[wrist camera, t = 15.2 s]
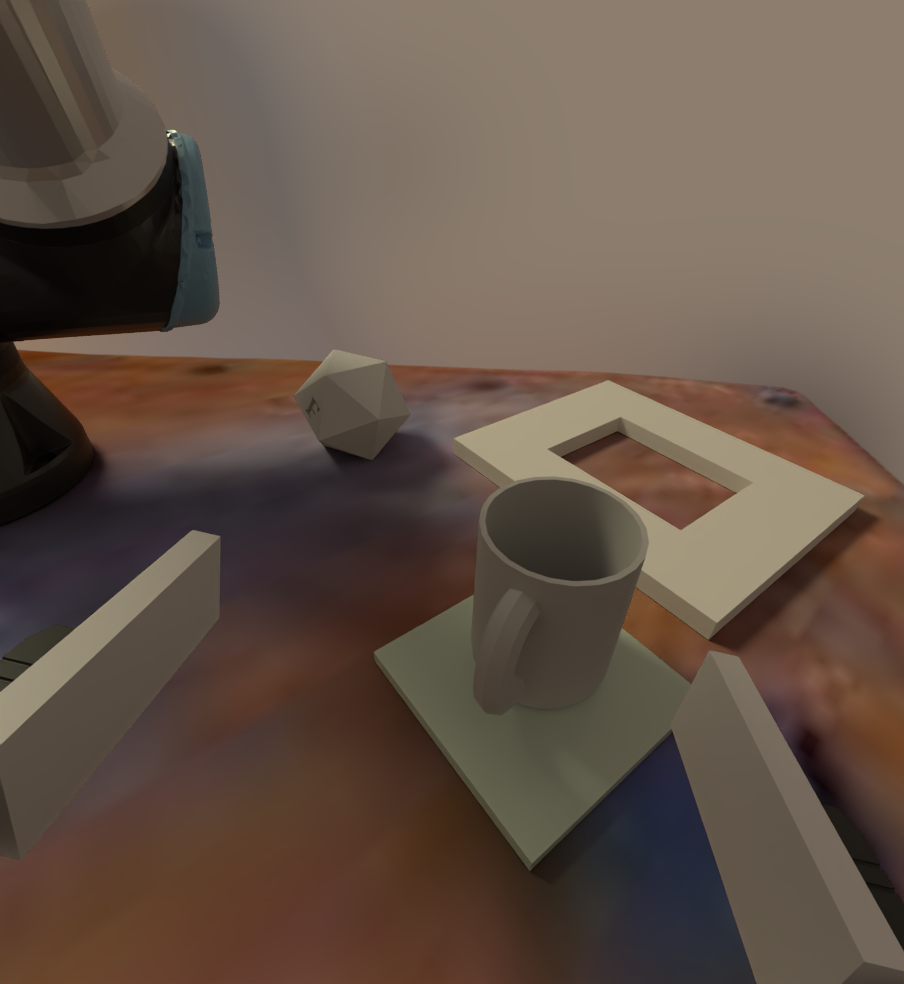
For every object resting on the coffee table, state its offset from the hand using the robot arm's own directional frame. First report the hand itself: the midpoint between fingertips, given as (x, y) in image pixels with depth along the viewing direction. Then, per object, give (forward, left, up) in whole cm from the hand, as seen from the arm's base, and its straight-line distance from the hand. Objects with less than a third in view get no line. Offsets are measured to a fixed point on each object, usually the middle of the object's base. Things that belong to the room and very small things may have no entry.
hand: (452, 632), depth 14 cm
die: (-29, +12, -13) cm, 34 cm away
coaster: (-3, +8, -13) cm, 15 cm away
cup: (-3, +8, -12) cm, 15 cm away
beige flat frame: (-11, +28, -13) cm, 33 cm away
